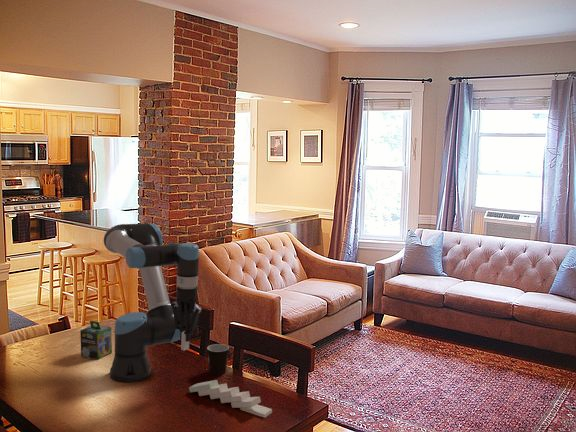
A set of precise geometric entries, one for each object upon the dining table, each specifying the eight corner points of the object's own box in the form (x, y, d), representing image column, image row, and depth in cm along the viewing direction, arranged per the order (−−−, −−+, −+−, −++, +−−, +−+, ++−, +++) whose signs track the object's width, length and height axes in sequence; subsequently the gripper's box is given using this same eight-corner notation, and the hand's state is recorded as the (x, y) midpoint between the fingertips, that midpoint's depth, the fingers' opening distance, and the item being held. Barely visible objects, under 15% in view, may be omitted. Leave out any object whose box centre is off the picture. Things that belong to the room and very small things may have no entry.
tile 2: (197, 391, 189) (218, 387, 184) (205, 386, 193) (226, 383, 188) (199, 396, 189) (220, 392, 184) (207, 391, 193) (227, 388, 188)
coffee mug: (224, 377, 206) (225, 352, 205) (203, 375, 207) (203, 350, 206) (233, 366, 217) (234, 342, 216) (213, 364, 219) (214, 340, 218)
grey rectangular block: (240, 406, 180) (264, 414, 175) (247, 401, 184) (272, 409, 179) (240, 411, 180) (264, 419, 175) (247, 406, 184) (271, 414, 179)
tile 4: (219, 397, 184) (240, 395, 179) (228, 393, 188) (248, 391, 182) (221, 403, 184) (241, 401, 178) (229, 398, 188) (250, 396, 182)
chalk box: (112, 352, 227) (112, 319, 226) (97, 360, 219) (97, 325, 217) (95, 349, 231) (95, 316, 229) (79, 356, 222) (79, 322, 220)
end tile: (188, 387, 191) (209, 384, 186) (196, 383, 195) (217, 379, 190) (190, 392, 191) (210, 389, 186) (198, 388, 195) (218, 384, 190)
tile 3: (209, 394, 187) (230, 391, 182) (217, 390, 191) (238, 386, 185) (210, 399, 187) (231, 396, 181) (218, 394, 190) (239, 391, 185)
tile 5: (230, 402, 181) (250, 401, 175) (239, 397, 185) (259, 396, 178) (232, 407, 181) (252, 407, 175) (241, 402, 184) (261, 401, 178)
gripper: (166, 285, 191) (164, 348, 194) (194, 292, 185) (192, 356, 188) (179, 281, 197) (178, 341, 200) (208, 287, 191) (205, 349, 194)
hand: (185, 348), depth 194 cm, fingers closed
